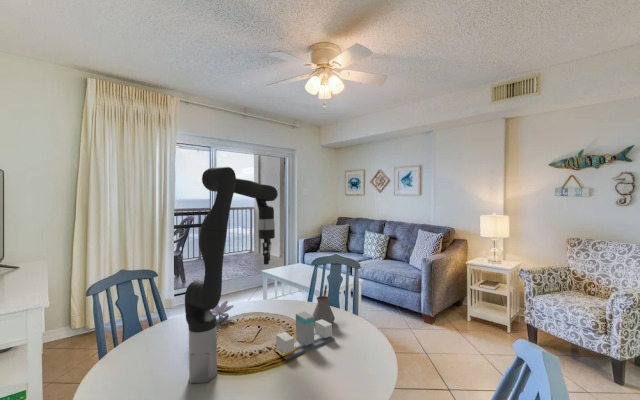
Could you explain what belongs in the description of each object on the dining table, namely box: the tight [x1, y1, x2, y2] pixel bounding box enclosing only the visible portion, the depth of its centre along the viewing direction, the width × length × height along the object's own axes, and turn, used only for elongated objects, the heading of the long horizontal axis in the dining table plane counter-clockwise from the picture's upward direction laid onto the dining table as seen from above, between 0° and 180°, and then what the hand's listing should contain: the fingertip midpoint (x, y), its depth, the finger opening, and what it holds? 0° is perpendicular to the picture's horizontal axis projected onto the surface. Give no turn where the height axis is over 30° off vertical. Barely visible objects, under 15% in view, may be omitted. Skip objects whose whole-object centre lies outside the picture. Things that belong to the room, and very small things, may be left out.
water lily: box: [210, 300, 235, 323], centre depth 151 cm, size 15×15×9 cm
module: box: [295, 310, 315, 346], centre depth 125 cm, size 5×7×11 cm, turn 38°
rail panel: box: [275, 319, 336, 361], centre depth 125 cm, size 25×9×7 cm, turn 129°
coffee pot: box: [312, 284, 335, 325], centre depth 151 cm, size 21×12×15 cm, turn 172°
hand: (267, 262), depth 140 cm, fingers open, 8 cm apart
